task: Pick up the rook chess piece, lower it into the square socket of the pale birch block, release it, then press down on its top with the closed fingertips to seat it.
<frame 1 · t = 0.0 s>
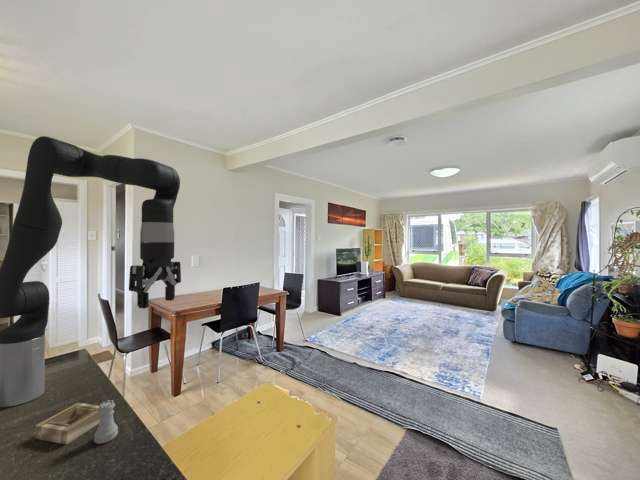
hand: (157, 303, 69), 29 cm above the countertop, fingers open, 8 cm apart
rook chess piece: (106, 438, 62), on the countertop
socket block: (72, 428, 65), on the countertop
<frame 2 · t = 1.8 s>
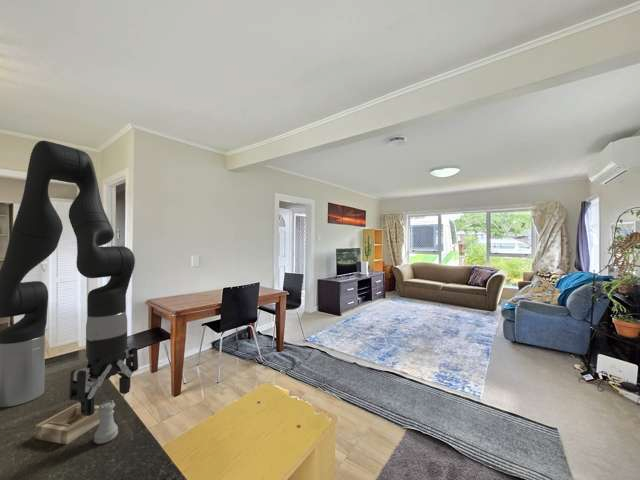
hand: (107, 403, 62), 8 cm above the countertop, fingers open, 8 cm apart
nothing on the countertop moved.
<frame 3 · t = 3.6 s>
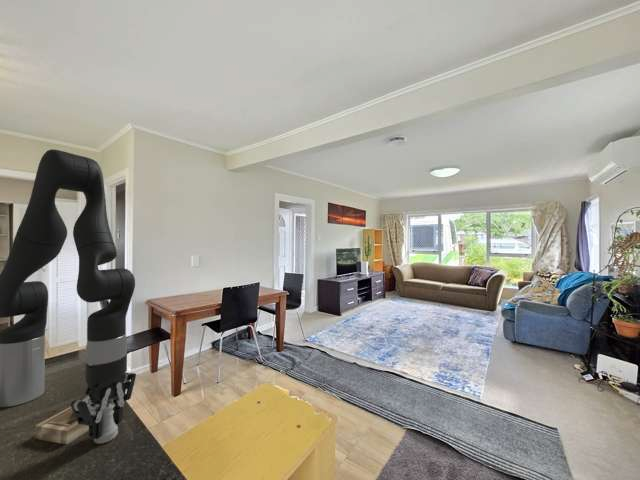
hand: (106, 429, 62), 2 cm above the countertop, fingers closed on rook chess piece, 4 cm apart
rook chess piece: (106, 438, 62), on the countertop, touching gripper
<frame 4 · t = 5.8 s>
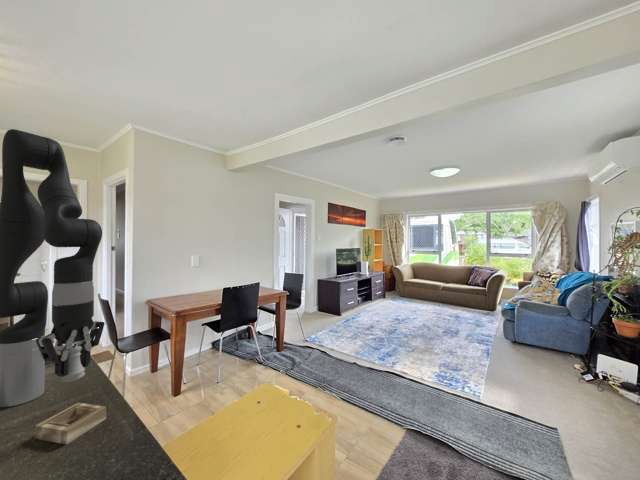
hand: (73, 370, 65), 14 cm above the countertop, fingers closed on rook chess piece, 4 cm apart
rook chess piece: (73, 378, 65), point 12 cm above the countertop, touching gripper
when the fingers open (4 cm above the countertop, at t = 8.3 s): rook chess piece drops 2 cm, resting in socket block.
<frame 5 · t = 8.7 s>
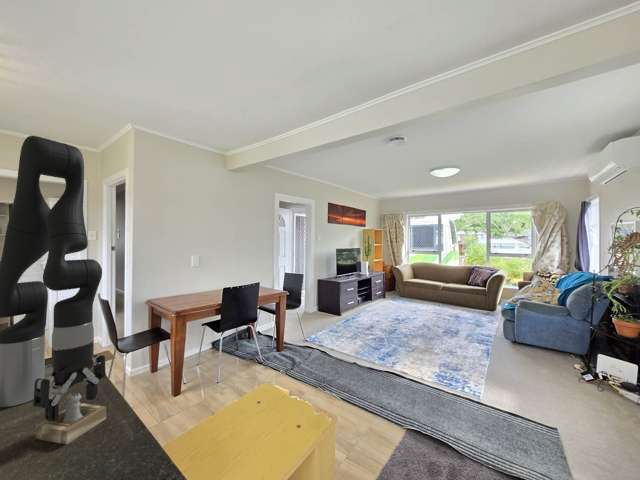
hand: (72, 409, 65), 5 cm above the countertop, fingers open, 8 cm apart
rook chess piece: (72, 429, 65), resting in socket block
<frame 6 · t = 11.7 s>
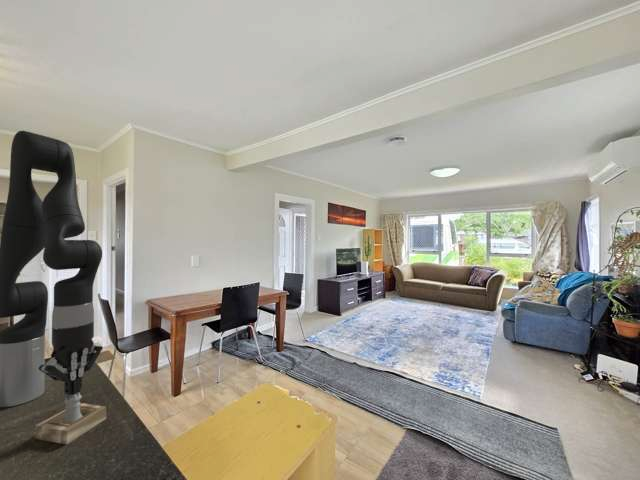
hand: (73, 393, 65), 8 cm above the countertop, fingers closed
nothing on the countertop moved.
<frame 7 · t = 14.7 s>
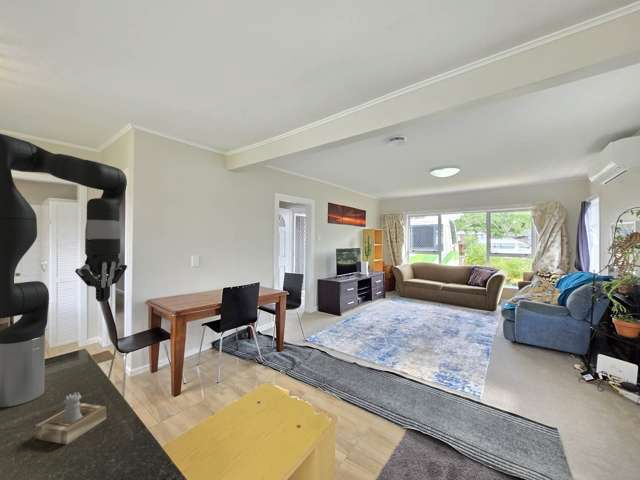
hand: (102, 300, 73), 29 cm above the countertop, fingers closed
nothing on the countertop moved.
at the end: rook chess piece 0.0 cm off-centre on the socket block, point 0.0 cm above the socket block's base; rook chess piece tilted 0°; the gripper is holding nothing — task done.
